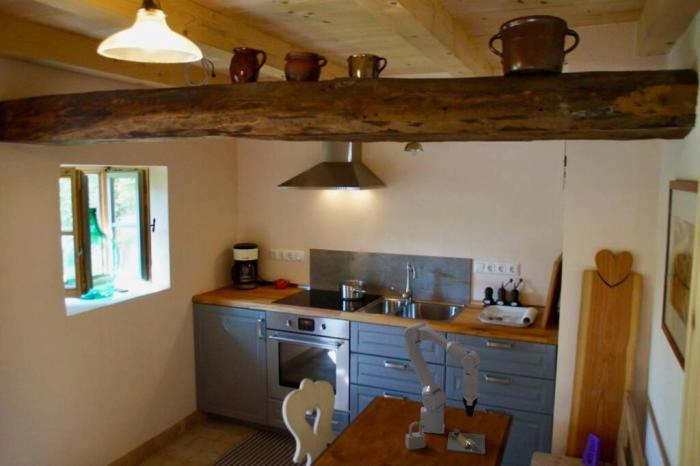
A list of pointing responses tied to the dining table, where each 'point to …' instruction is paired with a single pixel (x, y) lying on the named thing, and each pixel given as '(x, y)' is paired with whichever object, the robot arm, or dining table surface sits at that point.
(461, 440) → the brass link
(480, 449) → the slate board
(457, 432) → the pin cap
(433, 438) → the dining table surface
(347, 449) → the dining table surface
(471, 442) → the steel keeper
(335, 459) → the dining table surface
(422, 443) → the grey padlock
